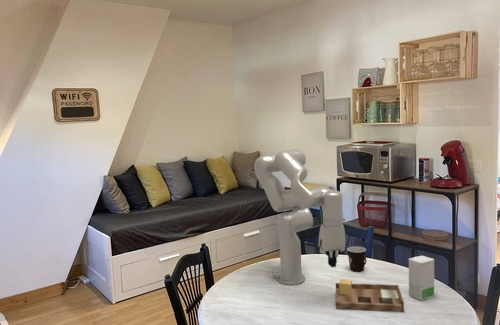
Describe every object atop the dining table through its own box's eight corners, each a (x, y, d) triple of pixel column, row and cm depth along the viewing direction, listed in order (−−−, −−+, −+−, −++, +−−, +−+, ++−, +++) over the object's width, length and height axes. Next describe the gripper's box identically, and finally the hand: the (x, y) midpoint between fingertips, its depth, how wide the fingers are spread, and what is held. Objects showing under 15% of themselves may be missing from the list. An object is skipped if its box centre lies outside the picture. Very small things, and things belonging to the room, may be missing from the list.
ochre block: (339, 293, 171) (339, 283, 171) (340, 289, 175) (340, 279, 175) (350, 295, 170) (350, 284, 169) (351, 290, 174) (351, 279, 173)
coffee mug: (347, 266, 207) (346, 246, 205) (365, 266, 205) (364, 246, 204) (349, 275, 195) (348, 254, 194) (368, 275, 194) (368, 254, 193)
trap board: (335, 309, 163) (335, 298, 163) (335, 292, 178) (335, 283, 178) (403, 312, 158) (403, 301, 158) (398, 294, 173) (397, 285, 172)
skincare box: (420, 301, 166) (420, 263, 164) (407, 295, 172) (407, 258, 170) (435, 296, 170) (435, 258, 168) (421, 290, 176) (421, 254, 174)
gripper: (344, 217, 173) (344, 260, 175) (311, 221, 168) (311, 265, 171) (354, 222, 165) (353, 266, 168) (319, 226, 161) (319, 272, 164)
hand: (332, 265), depth 170 cm, fingers closed
